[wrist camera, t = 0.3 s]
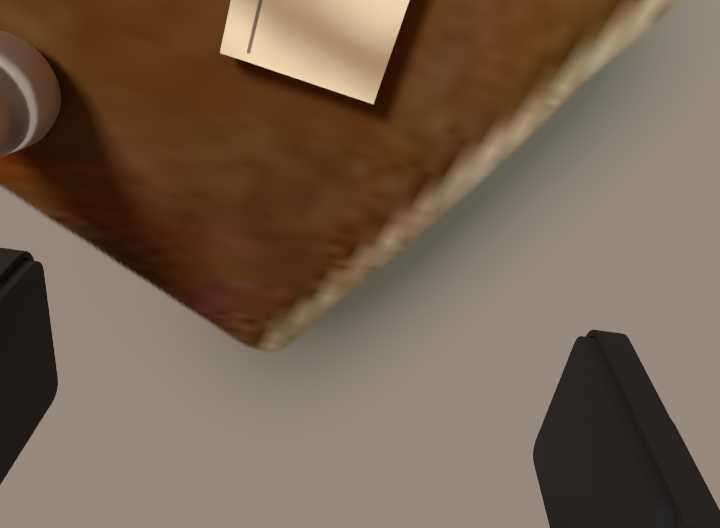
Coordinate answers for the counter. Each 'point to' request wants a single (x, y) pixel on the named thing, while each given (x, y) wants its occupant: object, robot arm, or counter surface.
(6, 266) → the robot arm
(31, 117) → the plastic bottle
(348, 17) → the board
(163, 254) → the counter surface
